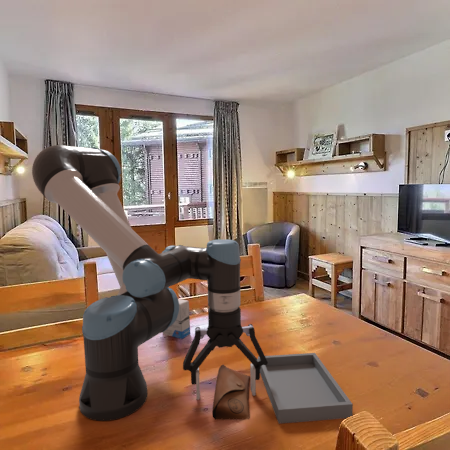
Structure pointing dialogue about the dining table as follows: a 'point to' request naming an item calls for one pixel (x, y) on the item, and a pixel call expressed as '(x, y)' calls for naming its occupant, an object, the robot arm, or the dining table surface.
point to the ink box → (180, 322)
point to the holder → (303, 389)
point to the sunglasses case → (231, 395)
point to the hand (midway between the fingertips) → (225, 394)
